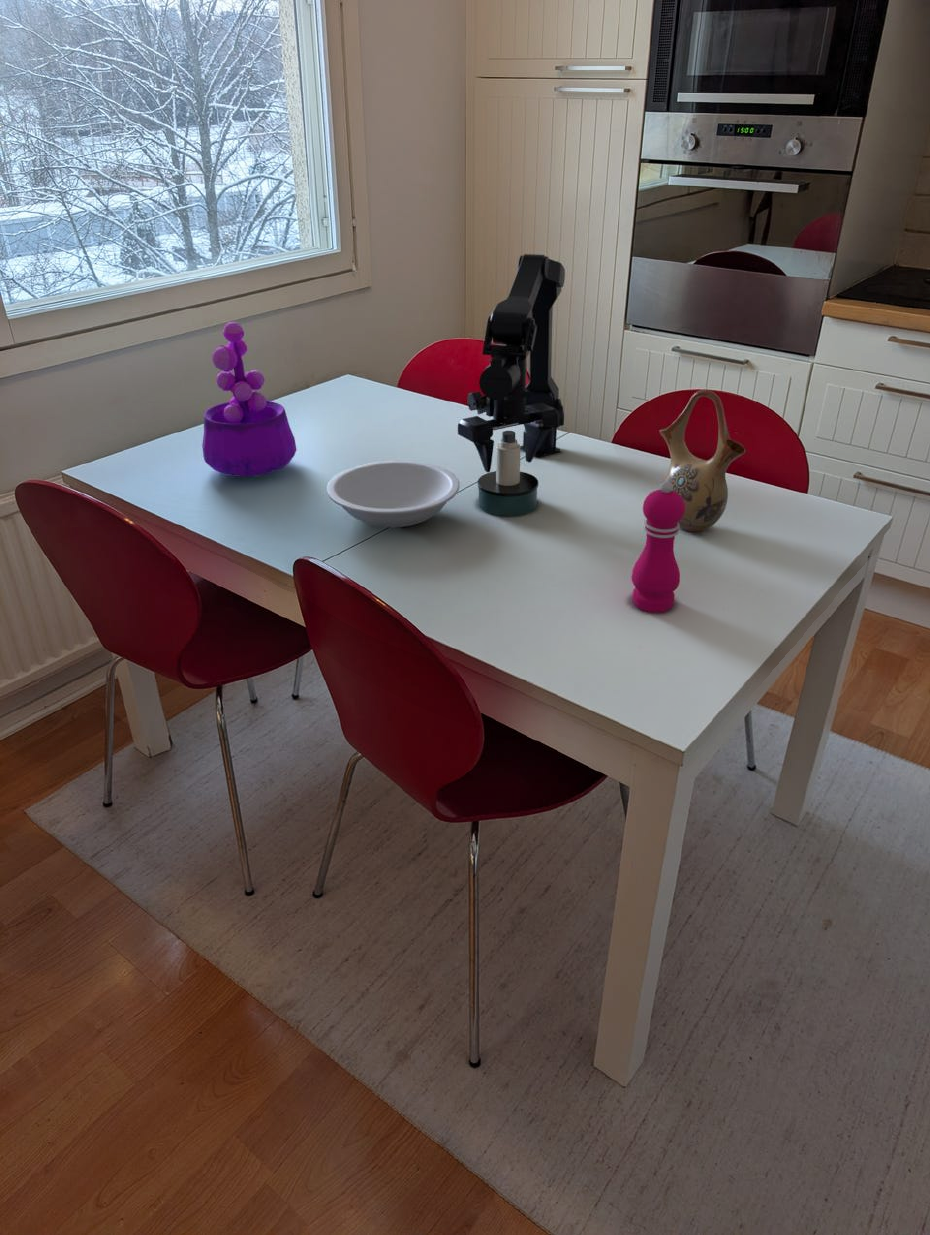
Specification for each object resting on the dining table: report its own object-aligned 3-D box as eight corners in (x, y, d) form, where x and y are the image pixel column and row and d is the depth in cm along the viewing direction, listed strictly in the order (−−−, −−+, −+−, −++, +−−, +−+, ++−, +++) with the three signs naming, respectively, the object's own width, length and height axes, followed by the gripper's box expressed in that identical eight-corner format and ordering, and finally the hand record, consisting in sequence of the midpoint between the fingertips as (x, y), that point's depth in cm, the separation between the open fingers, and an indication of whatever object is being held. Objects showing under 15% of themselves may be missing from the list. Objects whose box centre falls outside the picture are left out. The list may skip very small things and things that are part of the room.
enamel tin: (515, 488, 176) (515, 466, 174) (549, 507, 168) (550, 485, 165) (466, 500, 171) (466, 478, 169) (499, 521, 163) (499, 498, 160)
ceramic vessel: (743, 533, 158) (767, 394, 145) (715, 549, 152) (737, 406, 140) (665, 506, 168) (681, 374, 155) (637, 521, 162) (651, 385, 150)
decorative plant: (269, 492, 175) (249, 337, 160) (188, 481, 180) (161, 329, 165) (313, 459, 190) (298, 314, 175) (237, 449, 195) (216, 308, 180)
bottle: (511, 475, 170) (512, 427, 165) (524, 482, 166) (525, 433, 162) (491, 480, 168) (492, 431, 163) (504, 487, 164) (505, 438, 160)
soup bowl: (305, 535, 158) (302, 500, 155) (364, 485, 178) (362, 454, 174) (430, 555, 151) (429, 520, 148) (477, 501, 170) (477, 469, 167)
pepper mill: (624, 592, 140) (635, 472, 130) (669, 590, 140) (684, 470, 130) (635, 615, 134) (648, 492, 123) (682, 613, 134) (699, 490, 124)
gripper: (526, 365, 167) (524, 444, 176) (441, 380, 159) (442, 463, 167) (562, 379, 159) (558, 462, 167) (474, 396, 151) (474, 482, 159)
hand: (508, 466), depth 165 cm, fingers open, 9 cm apart
